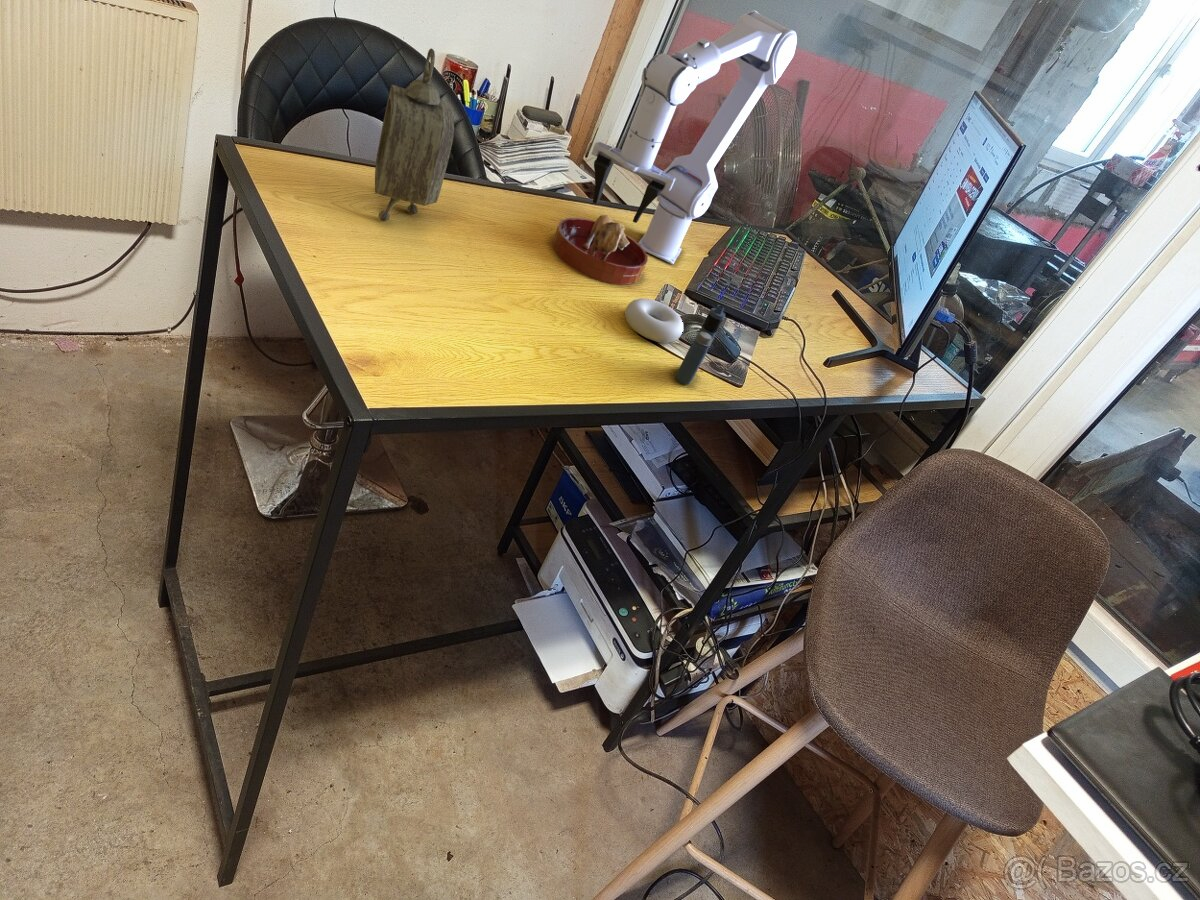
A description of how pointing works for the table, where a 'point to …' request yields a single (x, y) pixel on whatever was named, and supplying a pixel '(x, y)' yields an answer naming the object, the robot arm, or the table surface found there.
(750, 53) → the robot arm
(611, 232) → the lion figurine
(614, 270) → the bowl
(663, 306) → the donut
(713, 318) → the vaping device
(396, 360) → the table surface
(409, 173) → the wooden cowbell
